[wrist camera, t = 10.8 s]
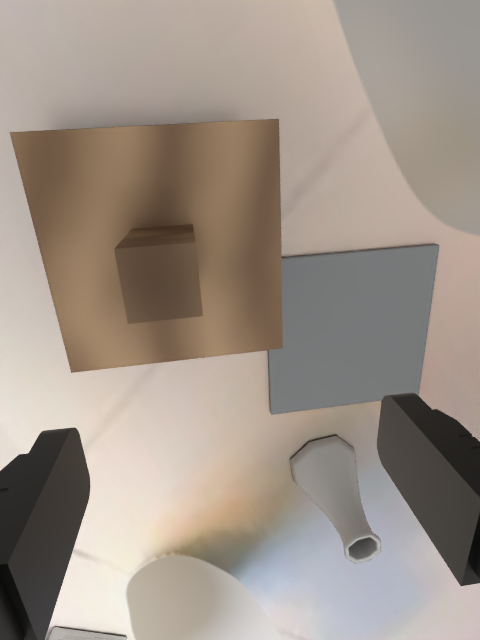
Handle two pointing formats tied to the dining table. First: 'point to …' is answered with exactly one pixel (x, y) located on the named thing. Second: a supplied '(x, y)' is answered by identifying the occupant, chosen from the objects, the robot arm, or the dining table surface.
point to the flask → (336, 493)
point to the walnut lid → (158, 238)
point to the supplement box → (80, 635)
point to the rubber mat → (352, 327)
